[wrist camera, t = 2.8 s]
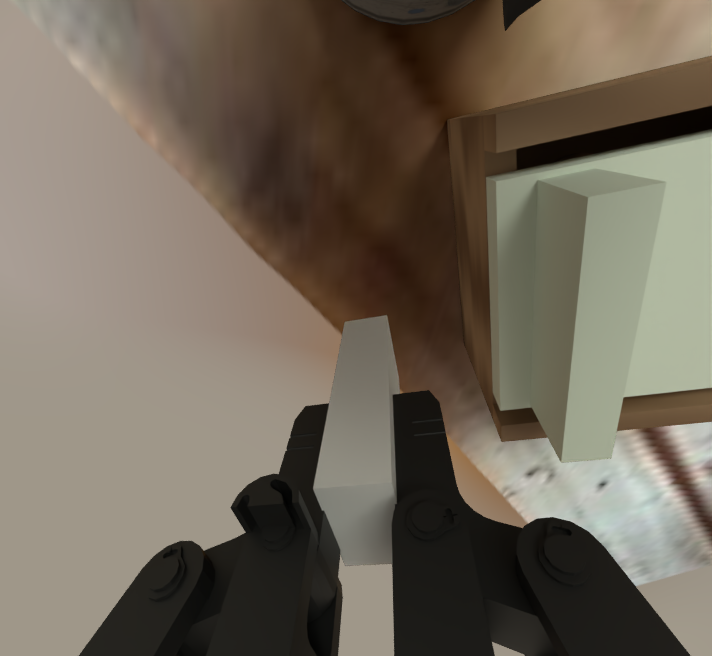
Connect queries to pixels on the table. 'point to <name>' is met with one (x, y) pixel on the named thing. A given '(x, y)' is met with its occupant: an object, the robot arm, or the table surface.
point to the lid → (601, 285)
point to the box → (547, 145)
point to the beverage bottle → (428, 9)
